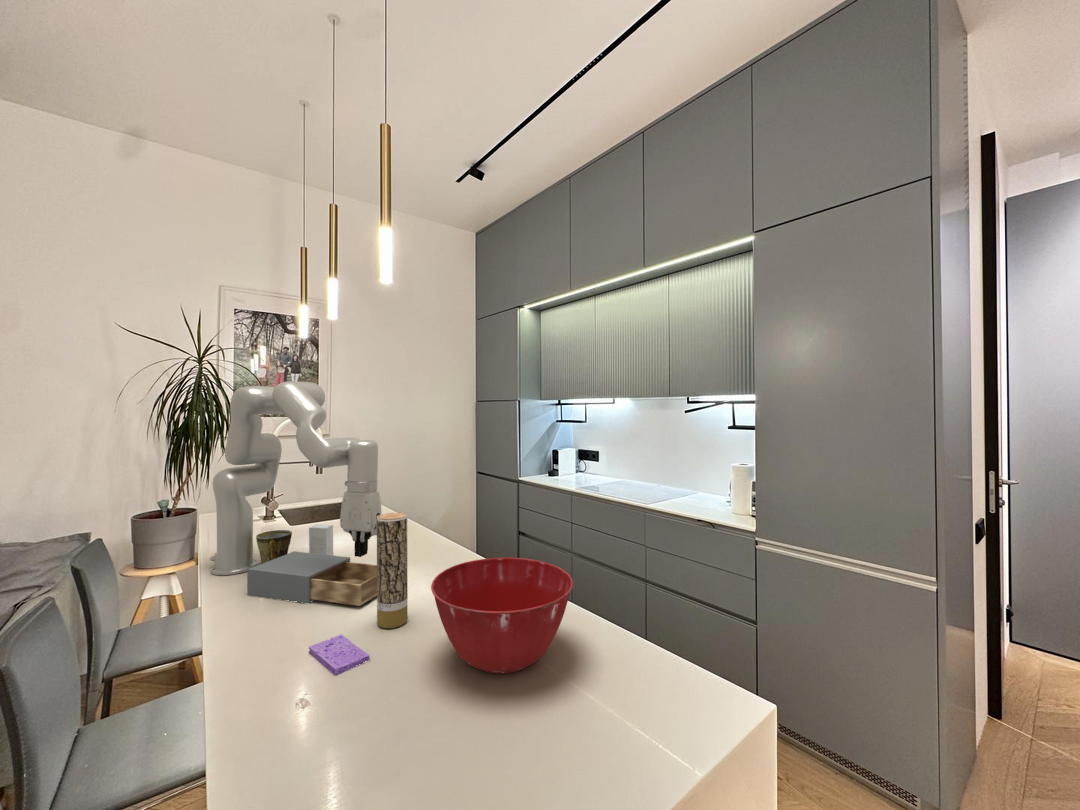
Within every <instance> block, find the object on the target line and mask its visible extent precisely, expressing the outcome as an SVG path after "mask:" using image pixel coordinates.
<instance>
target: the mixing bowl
mask: <svg viewBox="0 0 1080 810" xmlns="http://www.w3.org/2000/svg"><path fill="white" fill-rule="evenodd" d="M573 587H574V581H573V578H572V577H571V575H570V574H569V573H568V572H567V571H566V570H564V569H563V568H561V567H559V566H557V565H554V564H552V563H548V562H545V561H541V560H536V559H529V558H523V557H492V558H491V557H490V558H480V559H475V560H469V561H464V562H462V563H461V562H460V563H459V564H455V565H453V566H451V567H448V568H446V569H444V570H442V571H441V572H440V573H438V574H437V575H436V576H435V577H434V578H433V580H432V582H431V584H430V590H431V592H432V596H433V597H434V601H435V604H436V608H437V611H438V614H439V618H440V621H441V624H442V627H443V629H444V631H445V633H446V635H447V637H448V640H449V642H450V643H451V645H452V647H453V648H454V650H455V652H456V654H457V655H458V656H459V657H460V659H461V660H463V661H464V662H465V663H467V664H468V665H469V666H472V667H474V668H476V669H478V670H480V671H482V672H486V673H491V674H499V675H500V674H511V673H515V672H518V671H521V670H523V669H526V668H527V667H528V666H530V665H532V664H534V663H536V662H537V661H538V660H540V659H541V658H542V657H543V656H544V655H545V654H546V652H547V651H548V649H549V648H550V646H551V644H552V642H553V640H555V637H556V635H557V633H558V631H559V628H560V626H561V623H562V621H563V618H564V615H565V612H566V610H567V609H566V608H567V605H568V602H569V598H570V593H571V591H572V589H573Z"/></svg>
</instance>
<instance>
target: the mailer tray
mask: <svg viewBox="0 0 1080 810" xmlns="http://www.w3.org/2000/svg"><path fill="white" fill-rule="evenodd" d="M375 597H377V564H370V563H361V562H352V561H350V562H344V563H342V564H339V565H337V566H335V567H333V568H331V569H329V570H326V571H324V572H322V573H320V574H318V575H316V576H314V577H311V578H310V599H314V600H315V601H321V602H329V603H336V604H341V605H342V604H343V605H349V606H356V607H361V606H362V605H364V604H365V603H367V602H368V601H370V600H372V599H373V598H375Z"/></svg>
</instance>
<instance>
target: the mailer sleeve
mask: <svg viewBox="0 0 1080 810" xmlns="http://www.w3.org/2000/svg"><path fill="white" fill-rule="evenodd" d="M344 562H351V557H349V556H341V555H339V556H338V555H334V554H333V555H323V554H314V553H309V552H304V551H303V552H302V551H292V552H290V553H287V554H286V555H284V556H281V557H278V558H276V559H273V560H270V561H268V562H265V563H263V564H262V563H259V565H257V566H255V567H252V568H249V569H247V571H246V573H247V575H246V576H247V577H246V578H247V579H246V580H247V584H246V585H247V590H246V591H247V593H246V594H247V596H249V597H250V596H251V597H256V596H257V598H263V597H265V598H264V599H270V598H272V599H271V600H276V599H281V600H280V601H283V600H289V601H288V602H290V601H297V602H303V603H302V604H304V603H309V604H311V603H312V602H311V601H313V600H314V599H310V578H311V577H314V576H316V575H318V574H320V573H322V572H324V571H326V570H329V569H331V568H333V567H335V566H337V565H339V564H342V563H344ZM297 602H296V603H297ZM310 602H311V603H310ZM313 602H314V601H313Z"/></svg>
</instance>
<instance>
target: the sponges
mask: <svg viewBox="0 0 1080 810" xmlns="http://www.w3.org/2000/svg"><path fill="white" fill-rule="evenodd" d="M308 649H309V650H308V653H309V654H310V655H311V656H313V657H314V658H315V659H316V660H317V661H319V663H321V664H322V666H323V667H325V668H326V669H327V670H328V671H329V672H330V673H332V675H336V676H337V675H338V674H339V675H341V674H343V673H346V672H348V671H349V670H348V669H350V670H352V669H354V668H356V667H357V666H356V665H359V664H361V663H363V662H365V661H368V660H369V661H370V654H368V652H366V651H364V650H363V649H361V648H360V647H359V646H357V645H356V644H355V643H354V642H352V641H351V640H350V639H349V638H347V636H344V635H343V634H342V633H340V634H338V635H336V636H333V637H330V638H329V639H326V640H323V641H322V642H317V643H314V644H311V645H310V646H308ZM369 661H368V662H369ZM363 664H364V663H363ZM361 665H362V664H361ZM355 666H356V667H355ZM359 666H360V665H359ZM353 667H354V668H353ZM351 668H352V669H351ZM347 670H348V671H347ZM345 671H346V672H345ZM339 675H338V676H339Z"/></svg>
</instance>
